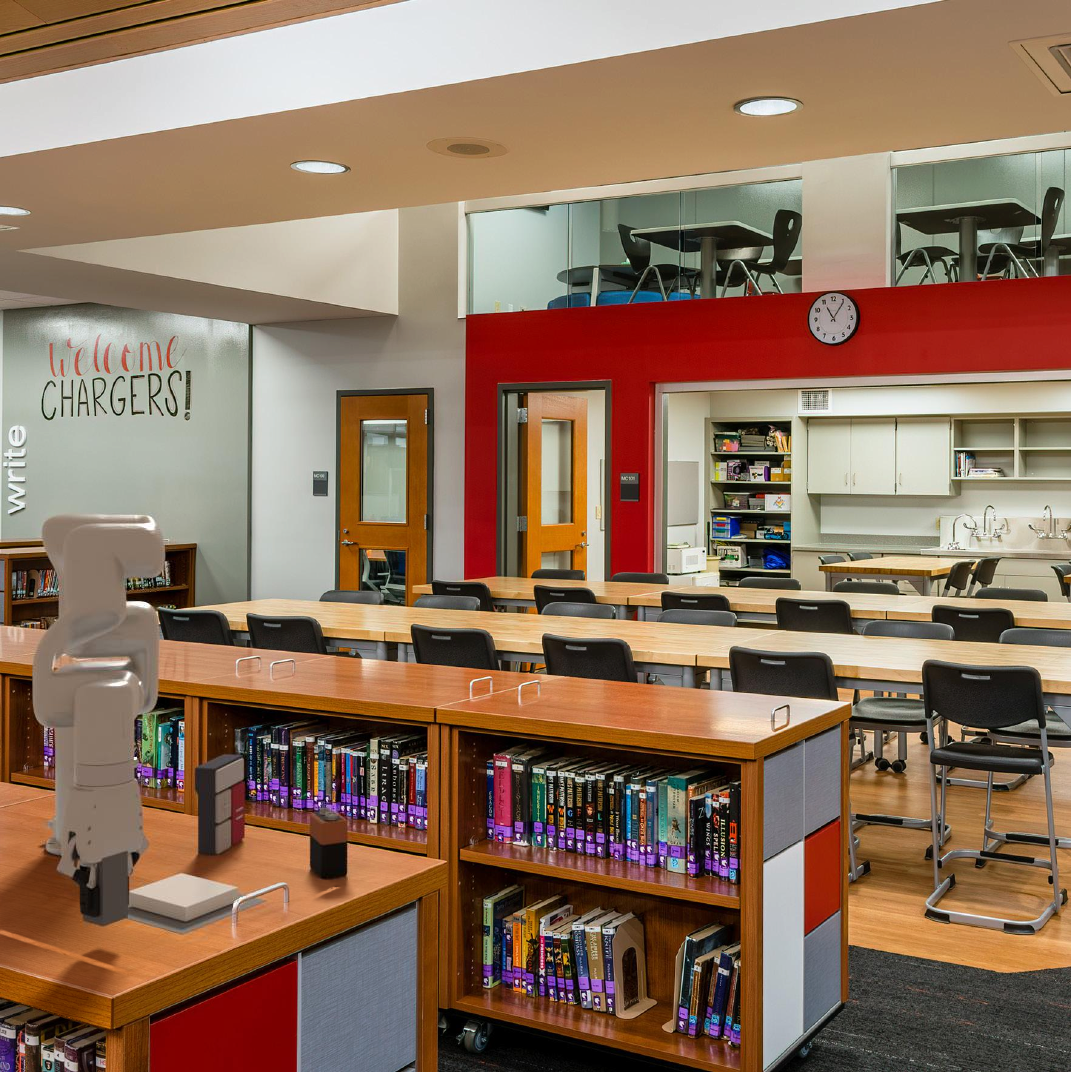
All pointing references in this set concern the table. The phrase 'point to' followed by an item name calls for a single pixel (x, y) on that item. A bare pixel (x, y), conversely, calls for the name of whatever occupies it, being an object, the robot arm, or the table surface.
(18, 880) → the table surface
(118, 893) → the block
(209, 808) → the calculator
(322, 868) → the battery
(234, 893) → the tile
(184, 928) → the mat
